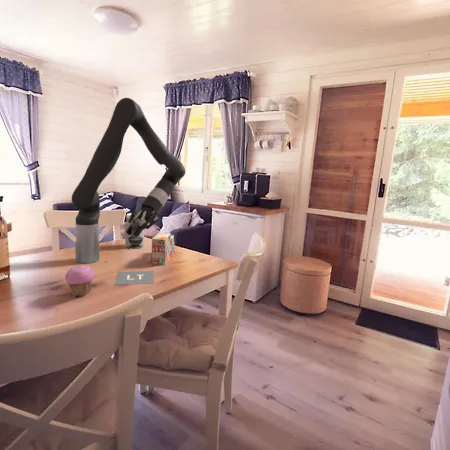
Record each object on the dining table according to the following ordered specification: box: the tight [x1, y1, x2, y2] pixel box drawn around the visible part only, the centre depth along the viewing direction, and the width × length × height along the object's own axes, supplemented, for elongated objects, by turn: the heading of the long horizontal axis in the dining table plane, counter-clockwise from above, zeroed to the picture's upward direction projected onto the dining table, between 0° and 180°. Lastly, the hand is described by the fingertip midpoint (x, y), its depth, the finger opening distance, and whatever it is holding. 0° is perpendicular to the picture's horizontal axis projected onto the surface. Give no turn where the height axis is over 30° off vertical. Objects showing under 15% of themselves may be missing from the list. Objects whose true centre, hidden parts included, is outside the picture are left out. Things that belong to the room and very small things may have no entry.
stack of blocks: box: [151, 232, 175, 266], centre depth 142 cm, size 21×6×12 cm, turn 179°
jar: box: [124, 212, 145, 249], centre depth 159 cm, size 10×10×18 cm
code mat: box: [114, 270, 155, 286], centre depth 115 cm, size 14×14×1 cm
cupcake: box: [64, 264, 96, 297], centre depth 97 cm, size 9×9×10 cm
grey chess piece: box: [128, 217, 144, 250], centre depth 112 cm, size 6×6×12 cm
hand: (131, 234), depth 111 cm, fingers closed on grey chess piece, 3 cm apart
